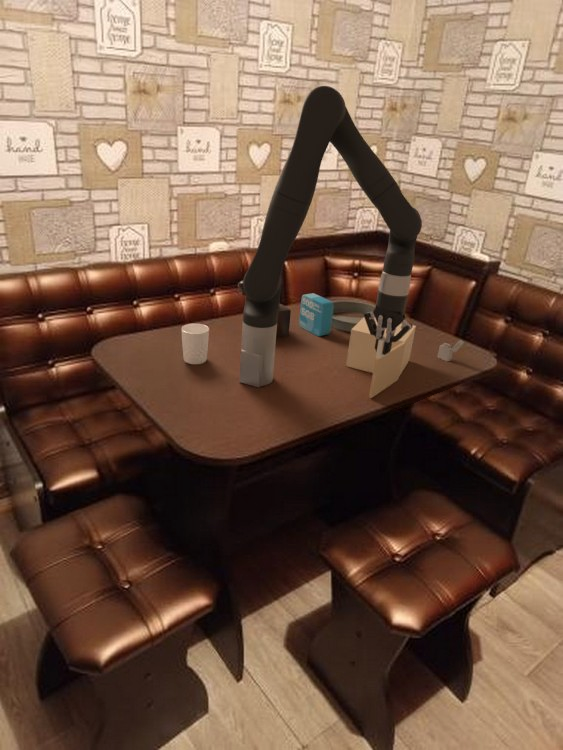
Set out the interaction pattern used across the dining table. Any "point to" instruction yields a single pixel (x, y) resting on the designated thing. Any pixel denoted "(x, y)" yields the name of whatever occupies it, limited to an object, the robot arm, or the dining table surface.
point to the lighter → (448, 350)
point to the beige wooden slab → (386, 367)
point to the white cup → (195, 343)
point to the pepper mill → (283, 316)
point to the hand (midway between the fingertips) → (381, 352)
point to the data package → (316, 314)
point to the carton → (373, 346)
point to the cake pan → (348, 306)
